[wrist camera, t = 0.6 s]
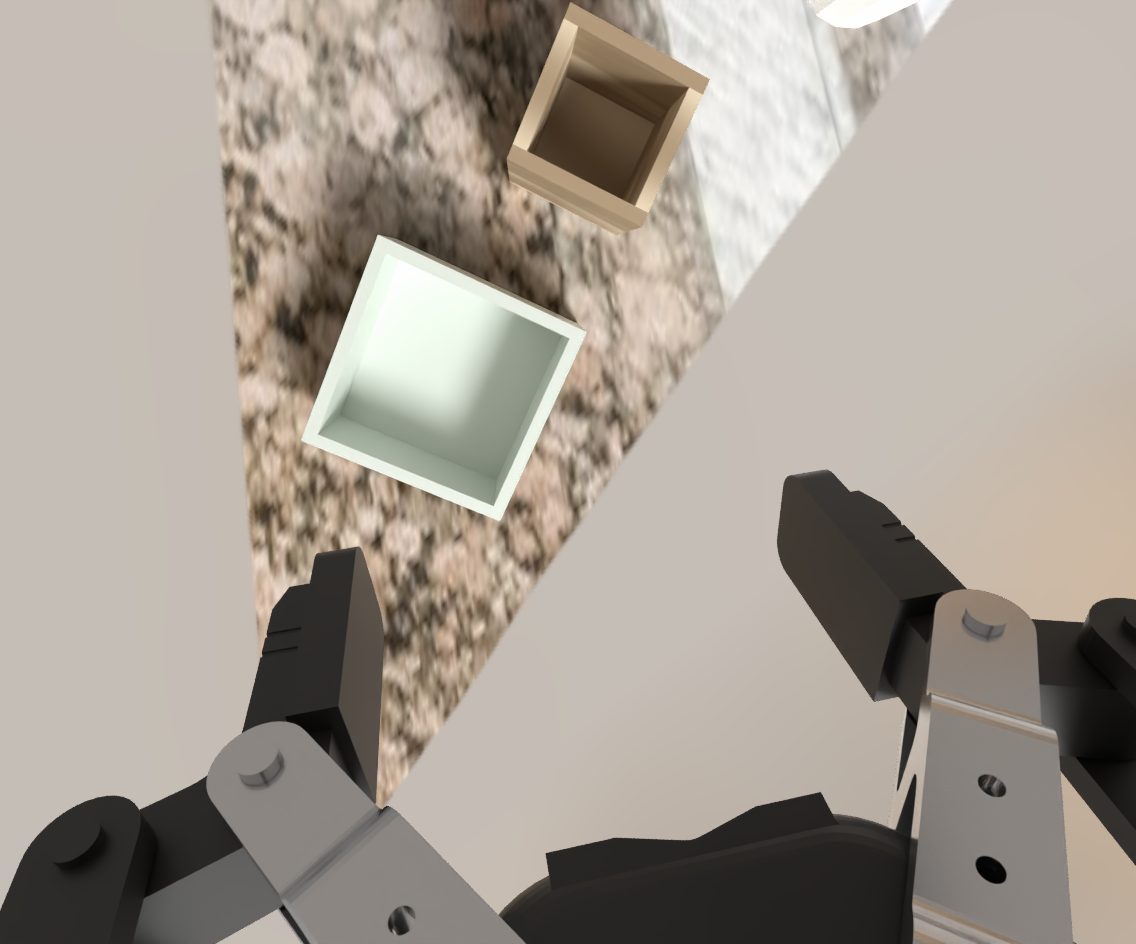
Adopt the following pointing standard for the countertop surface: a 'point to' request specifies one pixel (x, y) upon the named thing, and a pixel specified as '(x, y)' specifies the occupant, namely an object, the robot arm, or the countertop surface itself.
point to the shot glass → (856, 10)
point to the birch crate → (603, 123)
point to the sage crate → (441, 378)
